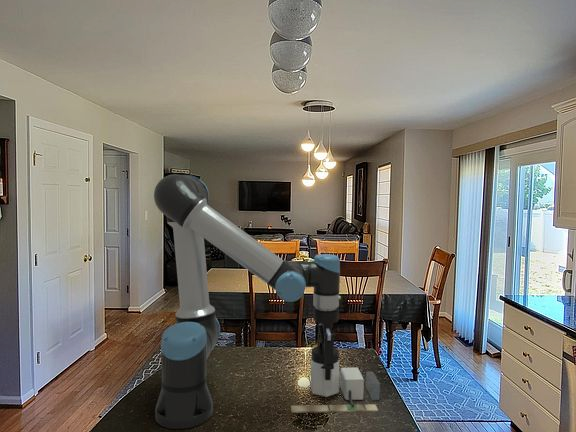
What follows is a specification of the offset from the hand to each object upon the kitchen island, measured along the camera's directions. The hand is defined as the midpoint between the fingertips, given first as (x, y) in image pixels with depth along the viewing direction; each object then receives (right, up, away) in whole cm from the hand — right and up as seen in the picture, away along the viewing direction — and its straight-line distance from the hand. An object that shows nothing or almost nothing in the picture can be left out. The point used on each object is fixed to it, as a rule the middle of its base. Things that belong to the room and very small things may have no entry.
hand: (324, 381), depth 125 cm
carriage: (+8, -4, -2) cm, 9 cm away
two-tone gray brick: (+14, -4, +1) cm, 15 cm away
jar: (0, -3, 0) cm, 3 cm away
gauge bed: (+2, -4, -8) cm, 9 cm away
